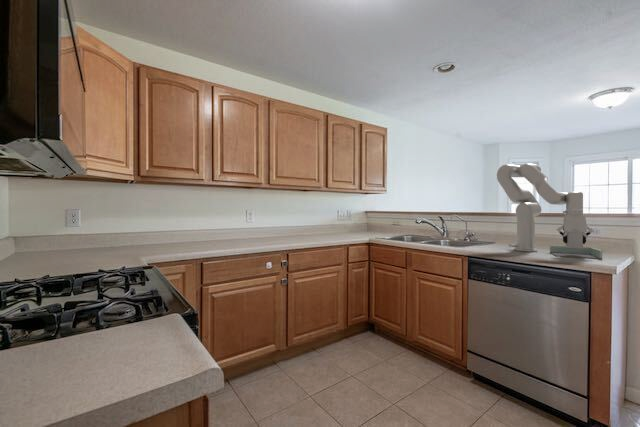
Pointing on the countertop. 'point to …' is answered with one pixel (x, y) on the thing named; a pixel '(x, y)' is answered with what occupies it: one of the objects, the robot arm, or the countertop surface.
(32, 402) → the countertop surface
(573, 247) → the can
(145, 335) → the countertop surface
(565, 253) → the arena
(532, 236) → the robot arm
